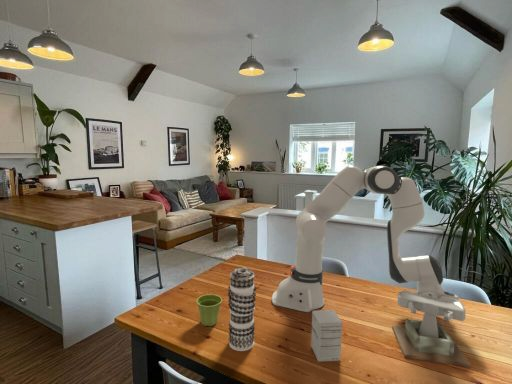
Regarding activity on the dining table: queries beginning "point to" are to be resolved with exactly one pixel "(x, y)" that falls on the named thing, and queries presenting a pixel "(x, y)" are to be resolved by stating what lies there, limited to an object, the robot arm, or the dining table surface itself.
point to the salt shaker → (429, 321)
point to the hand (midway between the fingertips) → (429, 315)
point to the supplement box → (326, 335)
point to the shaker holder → (428, 345)
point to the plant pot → (209, 309)
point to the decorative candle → (241, 309)
